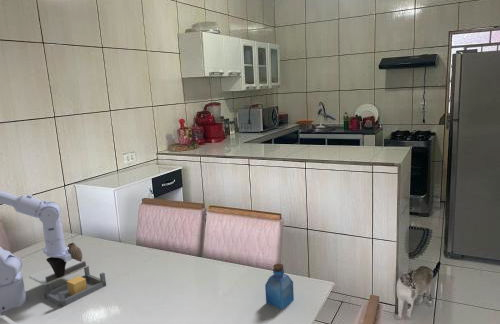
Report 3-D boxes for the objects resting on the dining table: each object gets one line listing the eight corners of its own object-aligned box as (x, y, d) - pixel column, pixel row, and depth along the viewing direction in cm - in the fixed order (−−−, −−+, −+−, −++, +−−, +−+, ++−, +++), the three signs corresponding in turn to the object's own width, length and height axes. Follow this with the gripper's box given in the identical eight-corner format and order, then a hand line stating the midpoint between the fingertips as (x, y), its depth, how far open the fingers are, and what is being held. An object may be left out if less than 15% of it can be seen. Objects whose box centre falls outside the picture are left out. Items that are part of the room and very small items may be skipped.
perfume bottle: (277, 294, 126) (276, 259, 123) (293, 300, 122) (292, 264, 120) (266, 303, 121) (264, 267, 119) (282, 309, 117) (280, 272, 115)
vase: (61, 266, 156) (57, 246, 155) (75, 259, 162) (72, 239, 161) (72, 269, 153) (69, 248, 152) (87, 262, 159) (84, 242, 157)
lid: (44, 285, 128) (43, 279, 128) (29, 277, 135) (28, 271, 134) (88, 266, 141) (88, 260, 141) (72, 260, 148) (71, 254, 147)
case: (62, 309, 124) (60, 293, 123) (45, 300, 130) (42, 285, 129) (106, 287, 137) (104, 273, 136) (88, 280, 143) (86, 266, 142)
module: (75, 297, 130) (73, 284, 129) (68, 293, 132) (66, 281, 131) (87, 291, 133) (85, 278, 132) (80, 288, 136) (78, 275, 135)
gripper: (77, 238, 128) (83, 276, 131) (55, 231, 137) (60, 267, 139) (56, 246, 123) (62, 285, 125) (34, 237, 131) (40, 275, 133)
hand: (60, 276), depth 132 cm, fingers closed
